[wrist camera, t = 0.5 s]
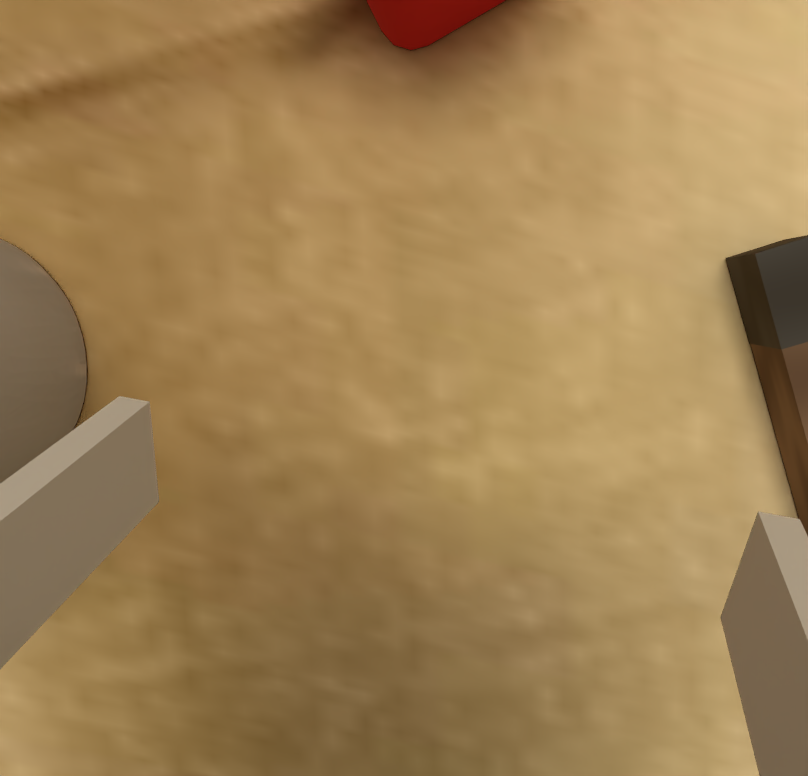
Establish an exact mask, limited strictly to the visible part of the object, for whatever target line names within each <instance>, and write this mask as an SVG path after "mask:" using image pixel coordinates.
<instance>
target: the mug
mask: <svg viewBox="0 0 808 776" xmlns="http://www.w3.org/2000/svg"><path fill="white" fill-rule="evenodd" d="M504 1H505V0H367V2H368V4H369V7H370V9H371V11H372V13H373V15H374V17H375V19H376V21H377V23H378V25H379V27H380V29H381V31H382V32H383V33H384V34H385V36H386V37H387V38H388V39H389V40H390V41H391V42H392V43H393V45H396V46H399V47H402V48H406V49H409V50H413V49H417V48H421V47H424V46H428V45H430V44H432V43H433V42H435V41H437V40H438V39H440V38H442V37H444V36H445V35H447V34H449V33H451V32H452V31H454V30H456V29H457V28H459V27H461V26H463V25H464V24H466V23H468V22H469V21H471V20H473V19H475V18H476V17H478V16H480V15H481V14H483V13H485V12H487V11H488V10H490V9H492V8H493V7H495V6H497V5H499V4H500V3H502V2H504Z"/></svg>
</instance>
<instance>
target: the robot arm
mask: <svg viewBox="0 0 808 776" xmlns="http://www.w3.org/2000/svg"><path fill="white" fill-rule="evenodd" d="M158 502H159V496H158V485H157V475H156V464H155V453H154V443H153V432H152V422H151V411H150V402H149V401H143V400H138V399H132V398H127V397H121V396H119V397H117V398H116V399H115V400H113V401H112V402H111V403H109V404H108V405H107V406H105V407H104V408H102V409H101V410H100V411H98V412H97V413H96V414H94V415H93V416H92V417H90V418H89V419H88V420H86V421H85V422H83V423H82V424H81V425H79V426H78V427H77V428H75V429H74V430H73V431H71V432H70V433H69V434H67V435H66V436H64V437H63V438H62V439H60V440H59V441H58V442H56V443H55V444H54V445H52V446H51V447H49V448H48V449H47V450H45V451H44V452H43V453H41V454H40V455H39V456H37V457H36V458H35V459H33V460H32V461H30V462H29V463H28V464H26V465H25V466H24V467H22V468H21V469H20V470H18V471H17V472H16V473H14V474H13V475H11V476H10V477H9V478H7V479H6V480H5V481H3V482H2V483H1V484H0V669H1V668H2V667H3V666H4V665H5V664H6V663H7V662H8V660H9V659H10V658H11V657H12V656H13V655H14V654H15V653H16V652H17V651H18V650H19V649H20V648H21V647H22V646H23V645H24V644H25V643H26V641H27V640H28V639H29V638H30V637H31V636H32V635H33V634H34V633H35V632H36V631H37V630H38V629H39V628H40V627H41V626H42V625H43V624H44V622H45V621H46V620H47V619H48V618H49V617H50V616H51V615H52V614H53V613H54V612H55V611H56V610H57V609H58V608H59V607H60V606H61V605H62V603H63V602H64V601H65V600H66V599H67V598H68V597H69V596H70V595H71V594H72V593H73V592H74V591H75V590H76V589H77V588H78V587H79V586H80V584H81V583H82V582H83V581H84V580H85V579H86V578H87V577H88V576H89V575H90V574H91V573H92V572H93V571H94V570H95V569H96V568H97V567H98V566H99V564H100V563H101V562H102V561H103V560H104V559H105V558H106V557H107V556H108V555H109V554H110V553H111V552H112V551H113V550H114V549H115V548H116V547H117V545H118V544H119V543H120V542H121V541H122V540H123V539H124V538H125V537H126V536H127V535H128V534H129V533H130V532H131V531H132V530H133V529H134V528H135V526H136V525H137V524H138V523H139V522H140V521H141V520H142V519H143V518H144V517H145V516H146V515H147V514H148V513H149V512H150V511H151V510H152V509H153V507H154V506H155V505H156V504H157V503H158ZM721 621H722V625H723V629H724V633H725V637H726V641H727V645H728V649H729V653H730V657H731V662H732V666H733V670H734V674H735V678H736V682H737V686H738V690H739V694H740V698H741V702H742V706H743V710H744V714H745V718H746V722H747V726H748V731H749V735H750V739H751V743H752V747H753V751H754V755H755V759H756V763H757V767H758V771H759V775H760V776H808V536H807V534H806V531H805V529H804V527H803V525H802V523H801V521H800V519H797V518H792V517H786V516H780V515H775V514H769V513H764V512H758V513H757V516H756V519H755V522H754V525H753V527H752V530H751V533H750V536H749V539H748V541H747V544H746V547H745V550H744V553H743V556H742V558H741V561H740V564H739V567H738V570H737V572H736V575H735V578H734V581H733V584H732V587H731V589H730V592H729V595H728V598H727V601H726V603H725V606H724V609H723V612H722V615H721Z"/></svg>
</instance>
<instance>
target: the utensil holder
mask: <svg viewBox="0 0 808 776" xmlns="http://www.w3.org/2000/svg"><path fill="white" fill-rule="evenodd" d="M86 383H87V362H86V352H85V347H84V341H83V336H82V333H81V330H80V327H79V324H78V321H77V318H76V315H75V313H74V311H73V309H72V307H71V305H70V303H69V301H68V299H67V298H66V296H65V294H64V293H63V291H62V290H61V289H60V287H59V286H58V285H57V283H56V282H55V281H54V280H53V279H52V278H51V277H50V275H49V274H48V273H47V272H46V271H45V270H44V269H43V268H42V267H41V266H40V265H39V264H38V263H37V262H36V261H35V260H33V259H32V258H31V257H30V256H29V255H28V254H26V253H25V252H23V251H22V250H20V249H19V248H17V247H15V246H14V245H12V244H10V243H8V242H6V241H4V240H2V239H0V484H1V483H2V482H3V481H5V480H6V479H7V478H9V477H10V476H11V475H13V474H14V473H16V472H17V471H18V470H20V469H21V468H22V467H24V466H25V465H26V464H28V463H29V462H30V461H32V460H33V459H35V458H36V457H37V456H39V455H40V454H41V453H43V452H44V451H45V450H47V449H48V448H49V447H51V446H52V445H54V444H55V443H56V442H58V441H59V440H60V439H62V438H63V437H64V436H66V435H67V434H69V433H70V432H71V431H73V429H74V427H75V425H76V423H77V421H78V418H79V415H80V412H81V409H82V406H83V402H84V398H85V391H86Z"/></svg>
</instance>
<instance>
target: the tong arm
mask: <svg viewBox="0 0 808 776" xmlns="http://www.w3.org/2000/svg"><path fill="white" fill-rule="evenodd" d="M726 260H727V264H728V267H729V271H730V275H731V278H732V282H733V285H734V289H735V293H736V296H737V300H738V303H739V307H740V310H741V314H742V318H743V321H744V325H745V328H746V332H747V335H748V339H749V343H750V344H751V348H752V351H753V355H754V358H755V362H756V365H757V369H758V373H759V376H760V380H761V383H762V387H763V390H764V394H765V398H766V401H767V405H768V408H769V412H770V416H771V419H772V423H773V426H774V430H775V433H776V437H777V441H778V444H779V448H780V451H781V455H782V459H783V462H784V466H785V469H786V473H787V476H788V480H789V484H790V487H791V491H792V494H793V498H794V501H795V505H796V509H797V512H798V516H799V519H800V521H801V523H802V525H803V527H804V529H805V531H806V534H807V536H808V235H807V236H802V237H796V238H791V239H786V240H782V241H779V242H776V243H772V244H769V245H766V246H763V247H760V248H757V249H753V250H750V251H747V252H744V253H741V254H738V255H735V256H731V257H728V258H726Z"/></svg>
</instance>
